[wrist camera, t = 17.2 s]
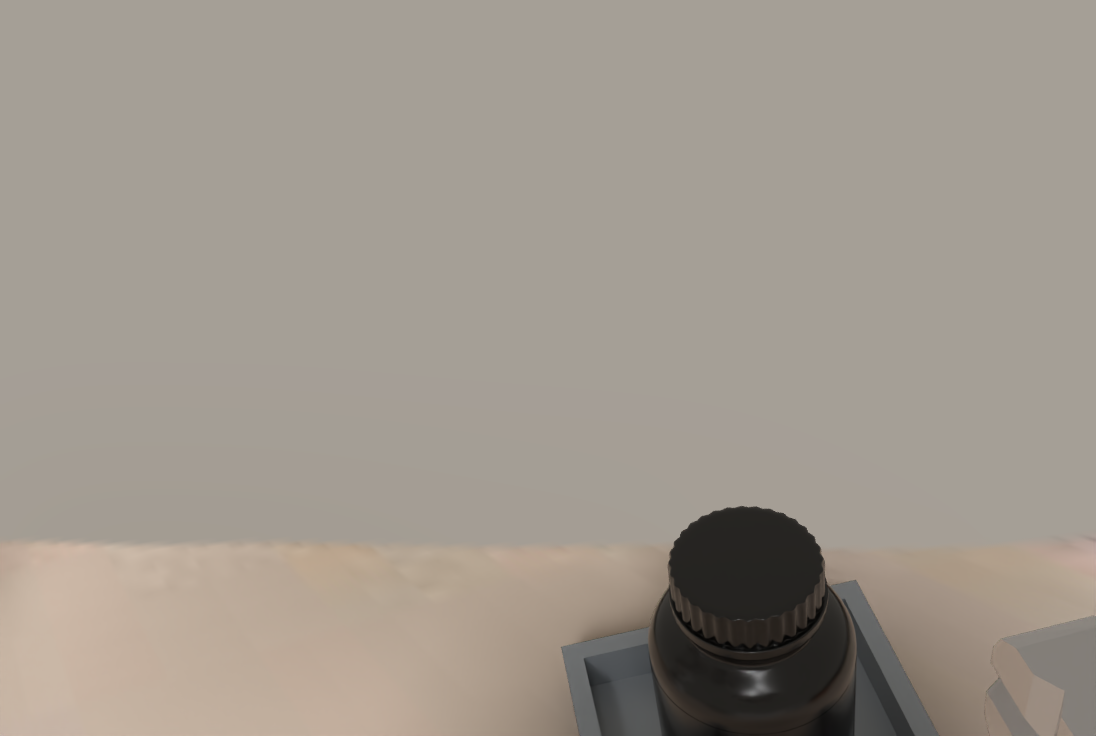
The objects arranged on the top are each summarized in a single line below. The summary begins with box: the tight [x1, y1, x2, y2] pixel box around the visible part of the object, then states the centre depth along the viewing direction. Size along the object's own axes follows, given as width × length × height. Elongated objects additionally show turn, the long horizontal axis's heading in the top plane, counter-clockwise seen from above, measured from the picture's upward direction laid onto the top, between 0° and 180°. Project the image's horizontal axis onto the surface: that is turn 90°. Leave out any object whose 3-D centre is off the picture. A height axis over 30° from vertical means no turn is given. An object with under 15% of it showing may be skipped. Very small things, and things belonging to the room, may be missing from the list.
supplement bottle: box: [648, 506, 857, 736], centre depth 36 cm, size 7×7×12 cm
